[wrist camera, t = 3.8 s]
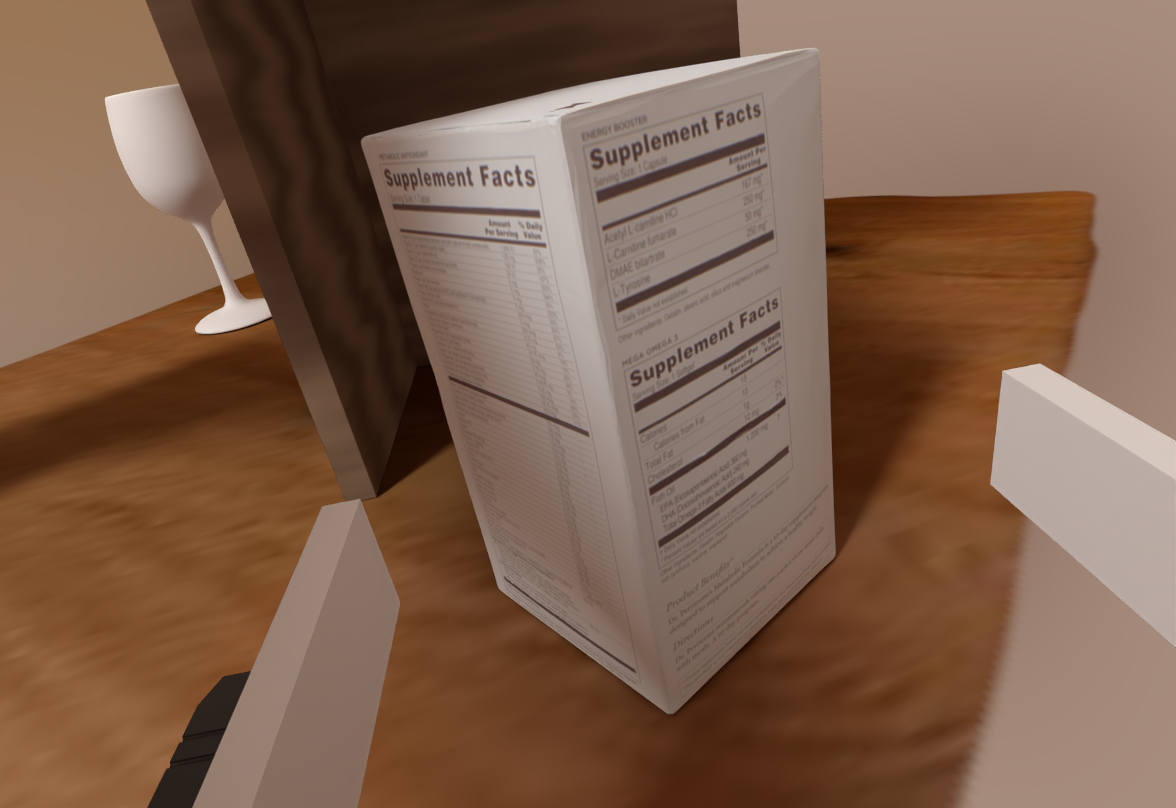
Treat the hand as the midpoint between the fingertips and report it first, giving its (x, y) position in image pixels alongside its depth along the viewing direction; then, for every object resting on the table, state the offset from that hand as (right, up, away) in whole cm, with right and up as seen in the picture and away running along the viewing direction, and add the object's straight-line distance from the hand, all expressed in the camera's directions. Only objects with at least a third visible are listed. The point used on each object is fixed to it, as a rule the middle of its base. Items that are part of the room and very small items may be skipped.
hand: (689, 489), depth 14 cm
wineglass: (-36, +10, +55) cm, 67 cm away
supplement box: (+1, -5, +12) cm, 13 cm away
